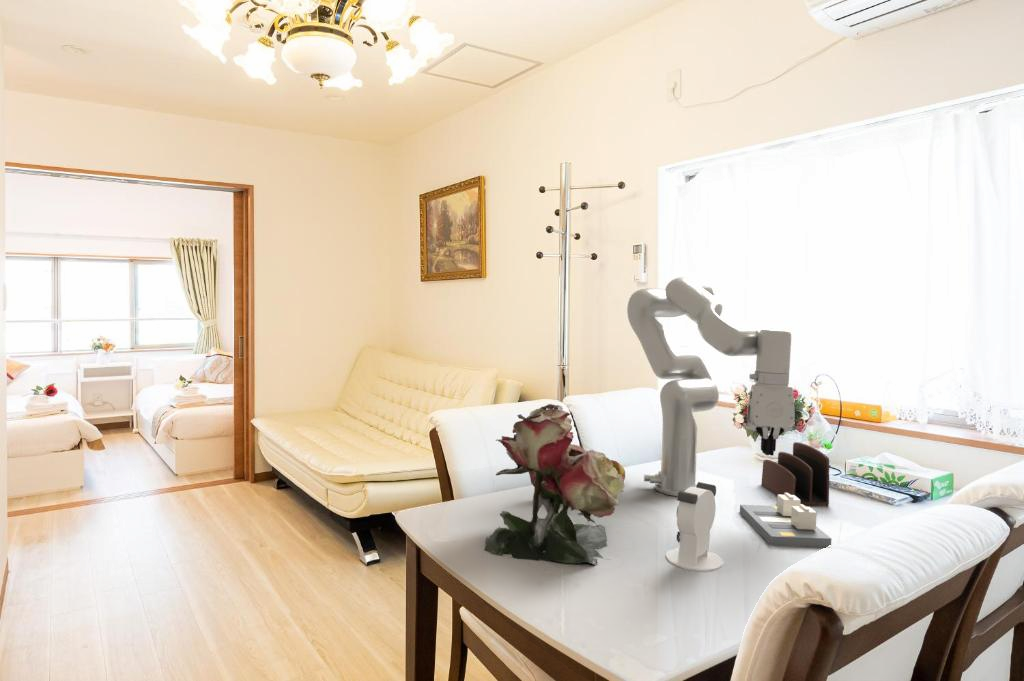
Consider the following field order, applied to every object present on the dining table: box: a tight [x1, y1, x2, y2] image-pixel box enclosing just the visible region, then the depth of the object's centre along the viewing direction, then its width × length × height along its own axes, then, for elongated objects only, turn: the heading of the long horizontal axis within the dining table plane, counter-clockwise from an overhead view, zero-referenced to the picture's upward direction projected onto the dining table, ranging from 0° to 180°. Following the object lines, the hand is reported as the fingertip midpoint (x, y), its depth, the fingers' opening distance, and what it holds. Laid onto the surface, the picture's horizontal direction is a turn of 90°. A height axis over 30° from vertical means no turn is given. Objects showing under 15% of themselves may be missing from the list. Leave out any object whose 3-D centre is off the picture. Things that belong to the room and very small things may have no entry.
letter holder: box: [761, 441, 830, 507], centre depth 179 cm, size 10×20×14 cm, turn 2°
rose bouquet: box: [484, 403, 625, 566], centre depth 140 cm, size 26×29×30 cm
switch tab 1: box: [776, 493, 801, 516], centre depth 156 cm, size 4×4×5 cm
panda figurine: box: [665, 481, 724, 572], centre depth 132 cm, size 12×11×15 cm
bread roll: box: [610, 459, 626, 481], centre depth 188 cm, size 13×10×8 cm
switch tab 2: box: [791, 504, 818, 530], centre depth 147 cm, size 4×4×5 cm
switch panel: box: [739, 504, 832, 548], centre depth 152 cm, size 13×22×2 cm, turn 178°
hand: (767, 453), depth 155 cm, fingers closed
